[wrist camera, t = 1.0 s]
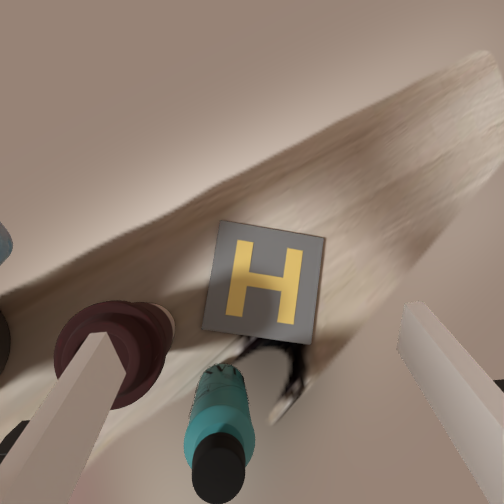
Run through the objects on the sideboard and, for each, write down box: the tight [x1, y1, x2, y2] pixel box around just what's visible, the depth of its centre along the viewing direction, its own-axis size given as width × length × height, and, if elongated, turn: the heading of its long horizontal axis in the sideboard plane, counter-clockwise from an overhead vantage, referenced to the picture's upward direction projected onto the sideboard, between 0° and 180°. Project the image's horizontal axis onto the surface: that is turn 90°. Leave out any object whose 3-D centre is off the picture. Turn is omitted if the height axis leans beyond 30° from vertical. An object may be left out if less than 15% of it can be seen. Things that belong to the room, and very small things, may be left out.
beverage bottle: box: [184, 363, 255, 504], centre depth 30 cm, size 6×7×20 cm
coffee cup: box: [54, 301, 175, 410], centre depth 32 cm, size 10×10×15 cm
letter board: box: [202, 220, 324, 345], centre depth 42 cm, size 16×16×1 cm
